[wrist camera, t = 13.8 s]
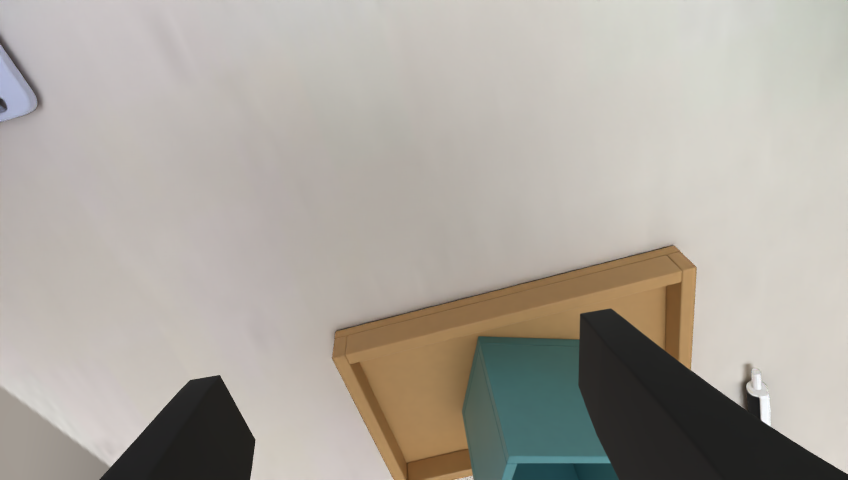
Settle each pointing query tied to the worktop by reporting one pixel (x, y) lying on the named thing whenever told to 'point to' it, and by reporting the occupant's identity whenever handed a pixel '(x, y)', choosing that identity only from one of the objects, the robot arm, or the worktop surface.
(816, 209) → the worktop surface
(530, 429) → the tub
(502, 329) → the tray
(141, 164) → the worktop surface
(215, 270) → the worktop surface
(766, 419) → the pen
